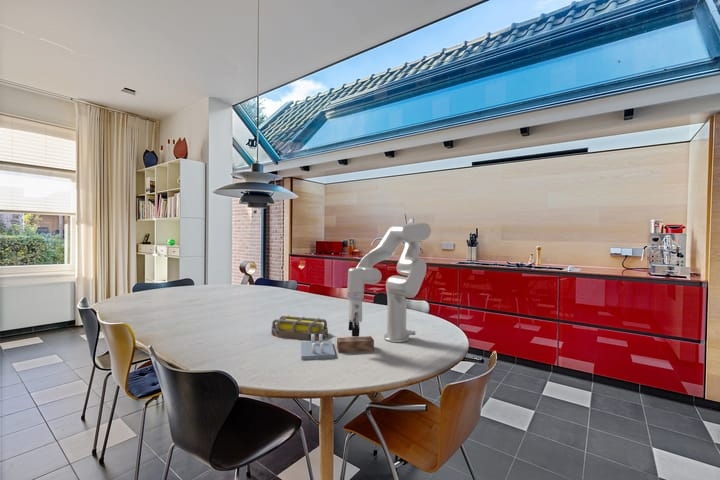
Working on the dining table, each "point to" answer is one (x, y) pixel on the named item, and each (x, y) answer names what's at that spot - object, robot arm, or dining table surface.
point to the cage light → (299, 327)
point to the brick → (355, 344)
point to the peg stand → (317, 349)
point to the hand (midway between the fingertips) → (353, 333)
